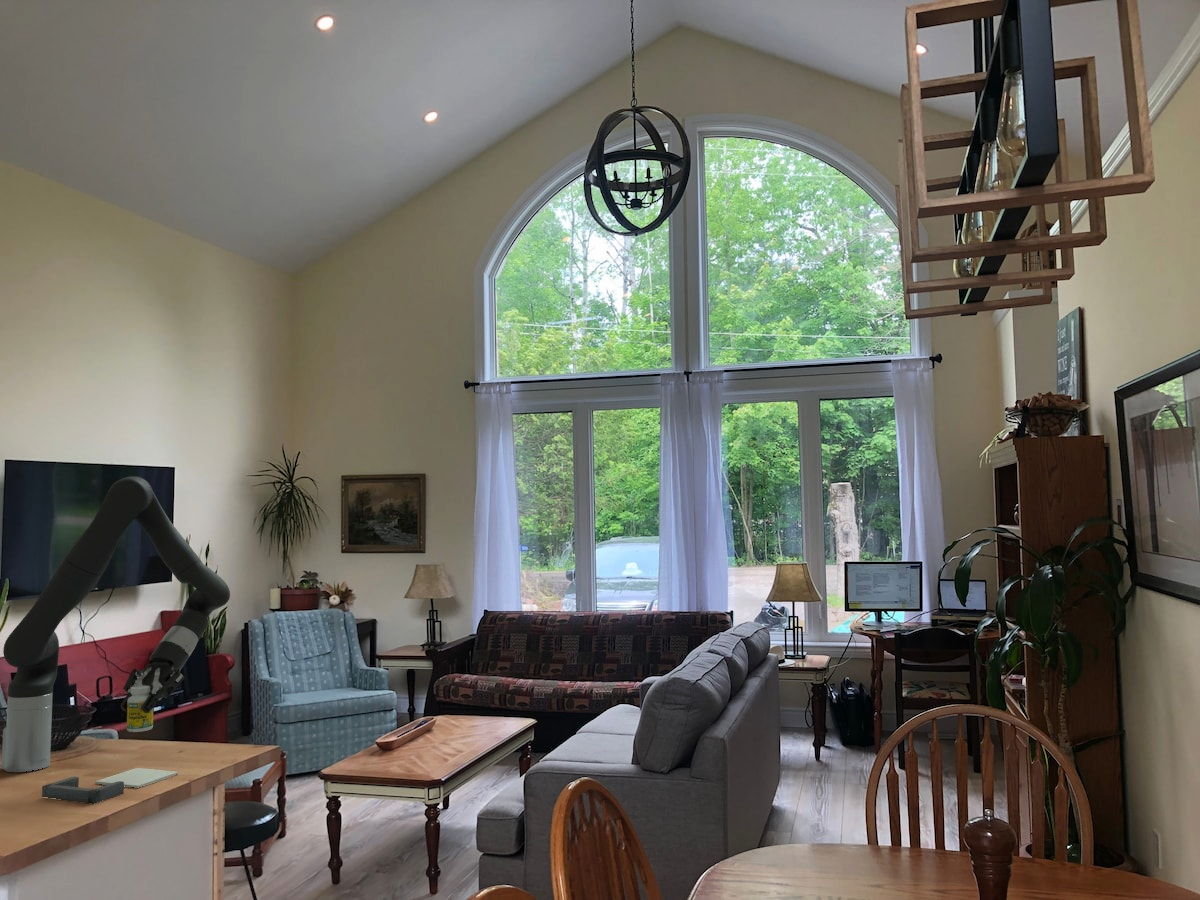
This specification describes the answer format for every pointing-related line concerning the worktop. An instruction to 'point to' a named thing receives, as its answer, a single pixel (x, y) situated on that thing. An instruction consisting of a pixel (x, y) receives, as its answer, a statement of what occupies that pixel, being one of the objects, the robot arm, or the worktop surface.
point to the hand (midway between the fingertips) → (134, 710)
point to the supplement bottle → (138, 710)
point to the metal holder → (81, 791)
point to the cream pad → (138, 777)
